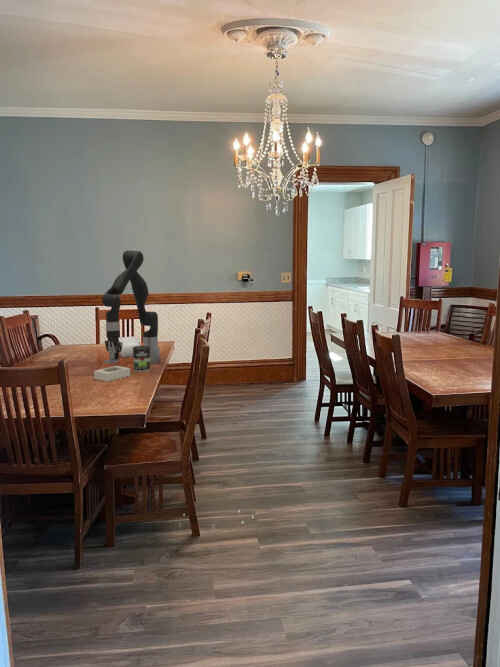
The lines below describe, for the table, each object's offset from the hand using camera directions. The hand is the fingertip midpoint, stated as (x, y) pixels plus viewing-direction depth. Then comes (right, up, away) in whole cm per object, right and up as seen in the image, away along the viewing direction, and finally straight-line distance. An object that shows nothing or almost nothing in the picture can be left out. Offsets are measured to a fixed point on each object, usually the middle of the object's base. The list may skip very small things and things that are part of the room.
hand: (114, 358), depth 295 cm
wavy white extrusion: (-9, 0, +67) cm, 68 cm away
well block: (-1, -11, 0) cm, 11 cm away
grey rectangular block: (-1, -2, -1) cm, 3 cm away
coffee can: (+12, -8, +17) cm, 23 cm away
